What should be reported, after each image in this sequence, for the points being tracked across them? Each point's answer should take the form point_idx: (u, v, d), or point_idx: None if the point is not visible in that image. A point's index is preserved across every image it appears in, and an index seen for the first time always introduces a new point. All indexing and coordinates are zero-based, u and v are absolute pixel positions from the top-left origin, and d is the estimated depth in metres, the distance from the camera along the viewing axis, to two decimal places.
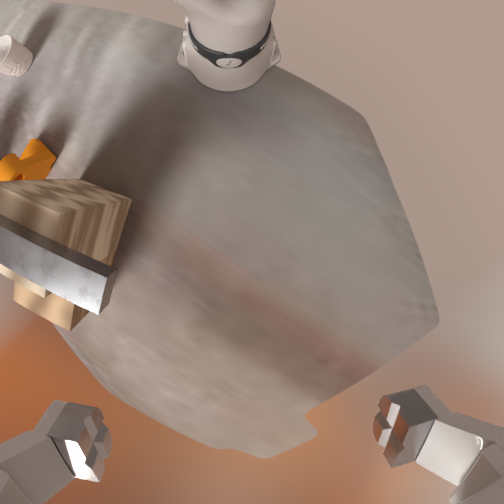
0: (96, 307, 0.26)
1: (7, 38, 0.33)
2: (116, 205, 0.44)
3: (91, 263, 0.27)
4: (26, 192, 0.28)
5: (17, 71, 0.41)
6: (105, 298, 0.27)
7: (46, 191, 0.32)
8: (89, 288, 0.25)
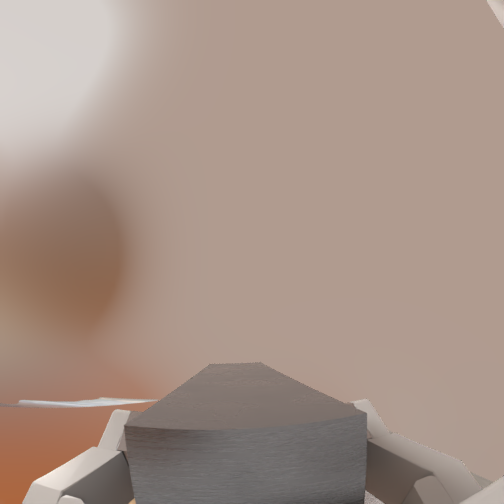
0: (167, 423, 0.04)
1: None
2: None
3: None
4: None
5: None
6: (209, 493, 0.04)
7: None
8: (254, 409, 0.06)
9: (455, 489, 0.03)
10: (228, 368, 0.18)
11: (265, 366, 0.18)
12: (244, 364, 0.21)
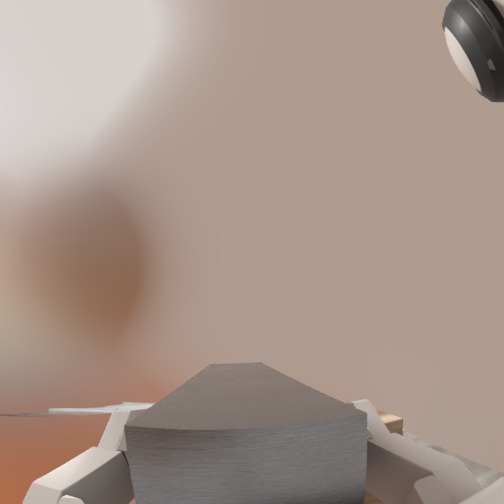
0: (167, 423, 0.04)
1: None
2: None
3: None
4: None
5: None
6: (210, 493, 0.04)
7: None
8: (255, 409, 0.06)
9: (455, 489, 0.03)
10: (228, 368, 0.18)
11: (265, 366, 0.18)
12: (244, 364, 0.21)
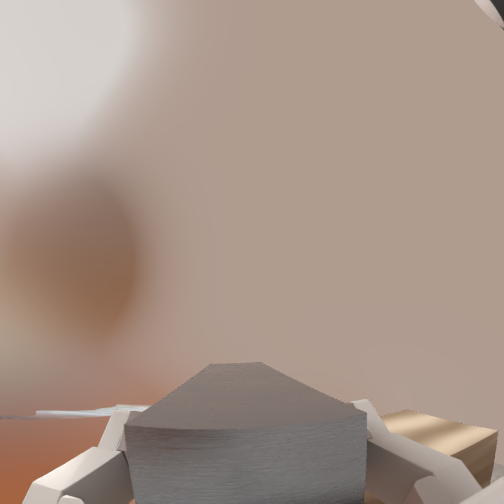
0: (167, 423, 0.04)
1: None
2: None
3: None
4: None
5: None
6: (209, 492, 0.04)
7: None
8: (254, 409, 0.06)
9: (455, 489, 0.03)
10: (228, 368, 0.18)
11: (265, 366, 0.18)
12: (244, 364, 0.21)
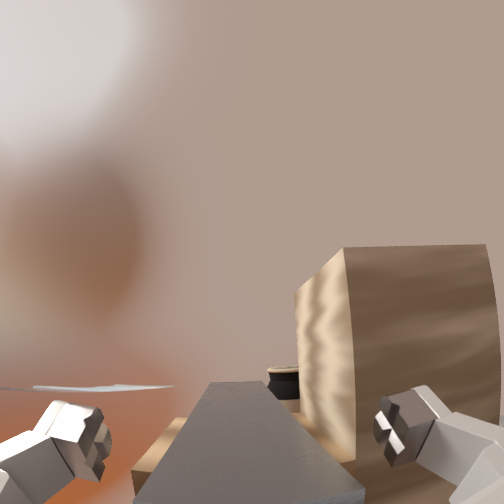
0: (174, 497, 0.04)
1: None
2: None
3: None
4: None
5: None
6: None
7: None
8: (257, 474, 0.05)
9: None
10: (229, 392, 0.17)
11: (266, 389, 0.18)
12: (245, 384, 0.21)
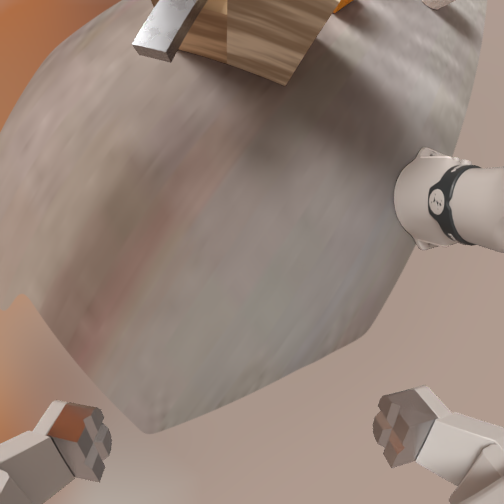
0: (139, 42, 0.24)
1: None
2: (291, 67, 0.35)
3: (179, 39, 0.25)
4: None
5: None
6: (145, 51, 0.25)
7: None
8: (157, 36, 0.24)
9: None
10: None
11: None
12: None
